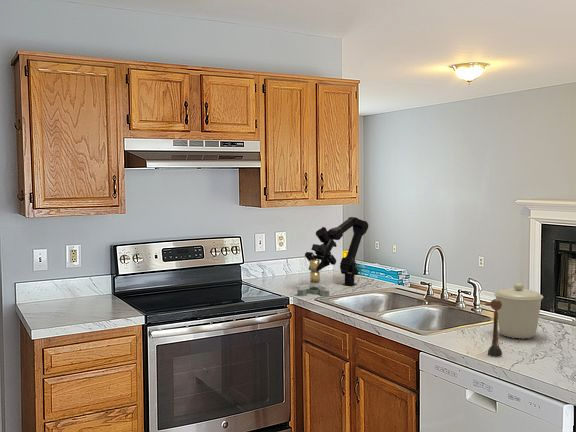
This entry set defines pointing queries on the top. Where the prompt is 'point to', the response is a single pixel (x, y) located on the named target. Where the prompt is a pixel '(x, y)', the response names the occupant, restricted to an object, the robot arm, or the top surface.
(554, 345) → the top surface
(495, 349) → the wooden tabletop sculpture
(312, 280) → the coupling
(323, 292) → the shaft bench
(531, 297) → the canister
